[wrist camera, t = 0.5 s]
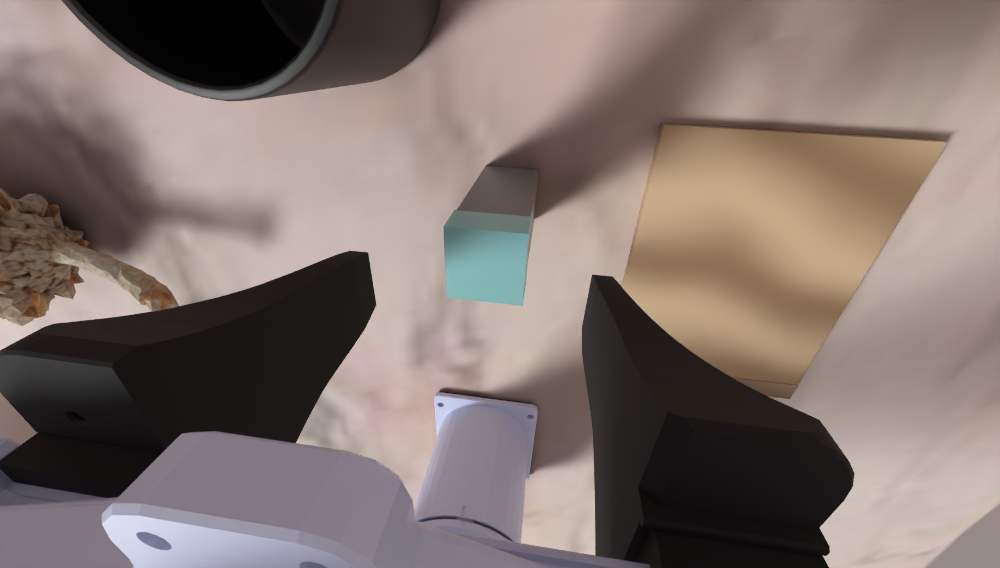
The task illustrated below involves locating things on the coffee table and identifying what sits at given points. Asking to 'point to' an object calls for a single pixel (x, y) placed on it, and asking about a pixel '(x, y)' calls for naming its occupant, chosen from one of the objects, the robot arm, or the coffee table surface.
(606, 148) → the coffee table surface
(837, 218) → the tan rectangular board
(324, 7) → the mug
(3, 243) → the pine cone
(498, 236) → the teal block
